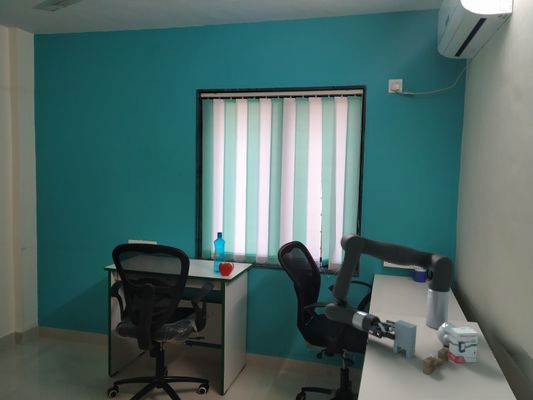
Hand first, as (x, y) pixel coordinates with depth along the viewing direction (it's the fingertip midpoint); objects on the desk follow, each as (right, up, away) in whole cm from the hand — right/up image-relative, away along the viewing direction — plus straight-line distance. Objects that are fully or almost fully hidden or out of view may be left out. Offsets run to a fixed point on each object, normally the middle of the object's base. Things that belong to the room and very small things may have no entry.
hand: (400, 334), depth 162 cm
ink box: (+22, -8, -4) cm, 24 cm away
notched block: (+1, -7, -1) cm, 7 cm away
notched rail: (+10, -8, -10) cm, 16 cm away
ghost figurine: (+22, -7, +8) cm, 24 cm away
